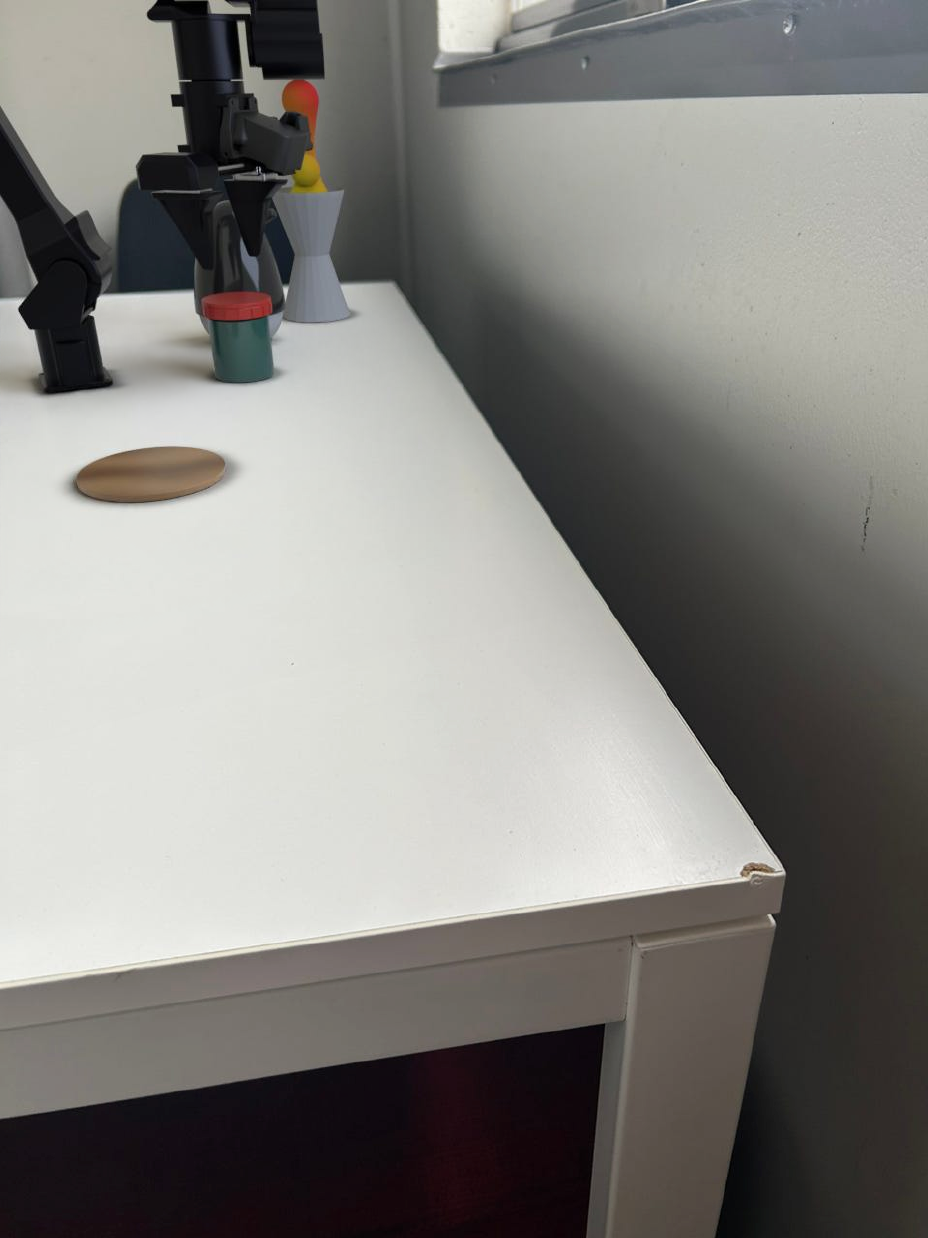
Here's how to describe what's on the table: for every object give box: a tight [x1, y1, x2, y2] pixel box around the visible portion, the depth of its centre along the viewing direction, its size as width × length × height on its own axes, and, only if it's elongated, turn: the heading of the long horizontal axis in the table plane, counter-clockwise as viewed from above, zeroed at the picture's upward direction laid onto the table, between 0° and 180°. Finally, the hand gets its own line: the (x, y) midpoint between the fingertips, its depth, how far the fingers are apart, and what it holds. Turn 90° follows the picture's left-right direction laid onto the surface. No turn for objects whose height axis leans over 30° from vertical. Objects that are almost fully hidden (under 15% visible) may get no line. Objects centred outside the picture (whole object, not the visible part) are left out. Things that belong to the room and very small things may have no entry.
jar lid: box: [201, 292, 273, 320], centre depth 98 cm, size 7×7×2 cm
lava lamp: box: [271, 80, 351, 323], centre depth 119 cm, size 9×9×35 cm
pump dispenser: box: [193, 199, 286, 339], centre depth 111 cm, size 10×10×15 cm
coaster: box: [75, 445, 227, 503], centre depth 76 cm, size 11×11×1 cm
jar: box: [208, 315, 275, 384], centre depth 100 cm, size 6×6×7 cm
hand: (232, 262), depth 96 cm, fingers open, 8 cm apart
